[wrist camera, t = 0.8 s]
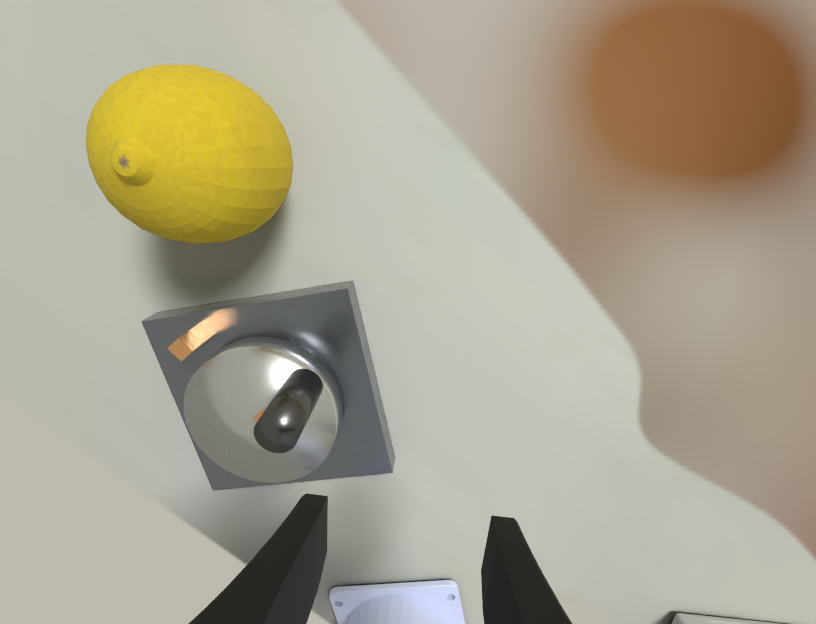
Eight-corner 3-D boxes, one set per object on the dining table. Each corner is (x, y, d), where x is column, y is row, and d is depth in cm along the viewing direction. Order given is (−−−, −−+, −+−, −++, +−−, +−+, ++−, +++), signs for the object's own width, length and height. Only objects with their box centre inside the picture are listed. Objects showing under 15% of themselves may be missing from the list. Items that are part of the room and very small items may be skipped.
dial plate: (394, 457, 23) (388, 499, 20) (223, 475, 25) (195, 516, 22) (352, 280, 20) (338, 302, 17) (157, 312, 21) (113, 336, 18)
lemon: (312, 232, 19) (229, 284, 12) (191, 212, 19) (32, 250, 12) (322, 95, 17) (230, 54, 10) (187, 74, 17) (-6, 16, 10)
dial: (357, 454, 22) (333, 538, 17) (227, 468, 23) (171, 551, 18) (322, 326, 19) (283, 382, 15) (179, 347, 20) (100, 407, 16)
